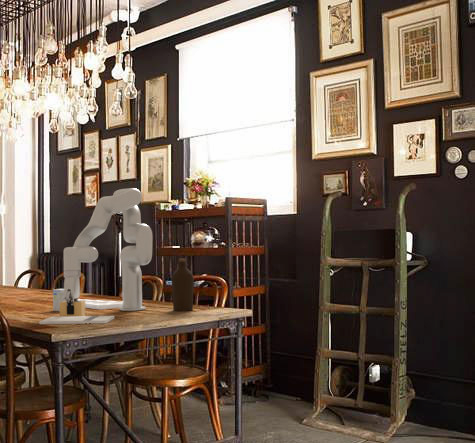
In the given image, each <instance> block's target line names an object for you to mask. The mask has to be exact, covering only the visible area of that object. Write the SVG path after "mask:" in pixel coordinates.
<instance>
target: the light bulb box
mask: <svg viewBox="0 0 475 443" xmlns="http://www.w3.org/2000/svg"><path fill="white" fill-rule="evenodd" d="M62 301H67V300H66V299H64V288H56V289H55V288H54V289H52V310H53V311H54V312H60V302H62ZM71 301H72V300H71Z"/></svg>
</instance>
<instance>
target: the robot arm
mask: <svg viewBox="0 0 475 443" xmlns="http://www.w3.org/2000/svg"><path fill="white" fill-rule="evenodd" d="M142 199H143V195H142V192H141V191H140V190H139V189H137V188H134V187H131V188H130V187H129V188H121V189H118V190H115V191H114V192H113V194H112V195H110V196H109V195H108V196H102V197H101V198H99V199H98V200H97V203H96V205H95V208H94V210H93V213H92V216H91V217H90V220H89V222H88V224H87V225H86V226H85V227H84V228H83V229H82V231H81V232H80V233H79V235H78V236H77V237H76V239H75V241H74V244H73V245H72V246H68V247H64V249H63V278H64V280H63V281H64V282H63V289H64V299H66V300H67V301H66V302H67V315H70V314H74V305H73V302H74V301H78V299H79V298H80V295H81V293H80V292H81V286H80V285H81V284H80V278H81V276H82V273H81V271H82V268H81V267H82V266H81V265H82V264H81V263H93V262H95V261H96V260H97V259H98V257H99V252H98V249H97V248H96V247H94V246H90V245H91V243H92V241H94V239H96V238H97V237H98V236H100V235H102V234H103V233H104V232H105V231H106V230H107V228H108V226H109V223H110V221H111V218H112V215H113V214H121V213H122V215H123V226H122V227H123V231H122V233H123V234H122V235H123V240H124V241H125V242H126V243H130V244H135V245H127V246H125V247H123V248H122V249H121V251H120V254H119V259H120V264H121V272H122V273H121V274H122V275H121V277H122V281H121V284H122V301H123V307H120V308H119V310H120V311H123V312H124V311H127V312H133V311H143V310H144V311H145V310H146V306H144V305H143V280H142V278H143V274H142V270H141V267H140V266H146V265H148V264H149V263H150V262H151V261H152V257H153V231H152V228H151V227H150V225H147V224H146V223H142V220H141V218H142V217H141V210H140V208H139V206H138V205H140V203H141V202H142ZM71 300H72V302H71Z"/></svg>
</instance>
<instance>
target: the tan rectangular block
mask: <svg viewBox="0 0 475 443" xmlns="http://www.w3.org/2000/svg"><path fill="white" fill-rule="evenodd" d="M71 302H72V301H71ZM73 305H74V314H70V315H67V302H66V301H62V302H60V311H59V316H86V308H85V301H74V302H73Z"/></svg>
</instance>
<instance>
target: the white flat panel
mask: <svg viewBox="0 0 475 443" xmlns="http://www.w3.org/2000/svg"><path fill="white" fill-rule="evenodd" d="M112 320H115V315H85V316H60V315H59V316H50V317H47V318H45V319H42V320H39V325H74V324H75V325H76V324H77V325H78V324H79V325H80V324H84V325H85V323H87V324H89V323H91V324H107V323H109V322H111V321H112Z"/></svg>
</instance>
